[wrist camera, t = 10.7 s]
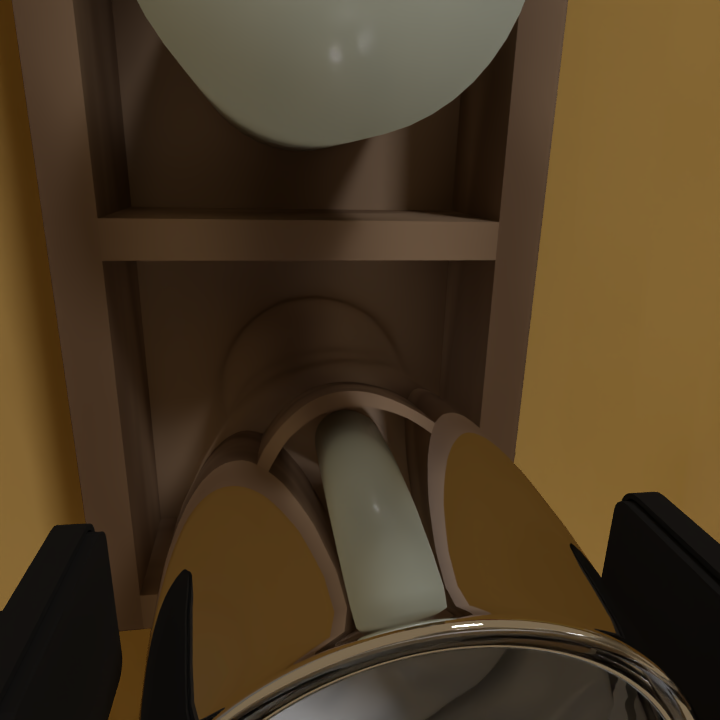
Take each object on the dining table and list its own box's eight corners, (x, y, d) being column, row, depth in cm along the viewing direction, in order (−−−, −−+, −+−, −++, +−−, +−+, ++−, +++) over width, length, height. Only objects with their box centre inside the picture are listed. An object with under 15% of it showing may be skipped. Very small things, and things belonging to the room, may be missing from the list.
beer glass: (181, 442, 20) (10, 1074, 6) (249, 251, 19) (224, 525, 5) (366, 493, 22) (556, 1072, 8) (442, 324, 20) (847, 678, 6)
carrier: (509, -185, 17) (605, -318, 12) (451, 510, 24) (498, 594, 19) (47, -244, 15) (-49, -430, 10) (134, 533, 22) (101, 632, 17)
